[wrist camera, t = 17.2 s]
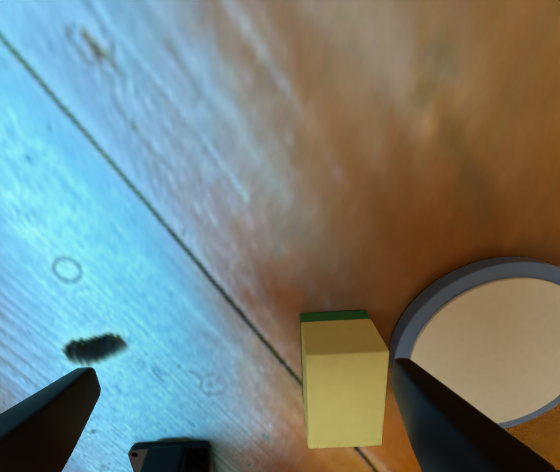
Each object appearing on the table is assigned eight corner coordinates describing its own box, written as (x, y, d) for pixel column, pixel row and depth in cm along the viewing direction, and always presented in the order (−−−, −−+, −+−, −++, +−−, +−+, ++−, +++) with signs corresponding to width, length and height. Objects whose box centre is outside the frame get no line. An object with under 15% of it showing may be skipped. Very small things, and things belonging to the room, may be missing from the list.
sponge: (361, 390, 20) (381, 446, 16) (302, 393, 20) (308, 449, 16) (366, 309, 18) (390, 351, 14) (299, 312, 18) (305, 355, 14)
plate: (559, 416, 21) (575, 431, 20) (381, 424, 21) (387, 439, 20) (617, 250, 17) (642, 257, 15) (395, 261, 17) (404, 269, 16)
